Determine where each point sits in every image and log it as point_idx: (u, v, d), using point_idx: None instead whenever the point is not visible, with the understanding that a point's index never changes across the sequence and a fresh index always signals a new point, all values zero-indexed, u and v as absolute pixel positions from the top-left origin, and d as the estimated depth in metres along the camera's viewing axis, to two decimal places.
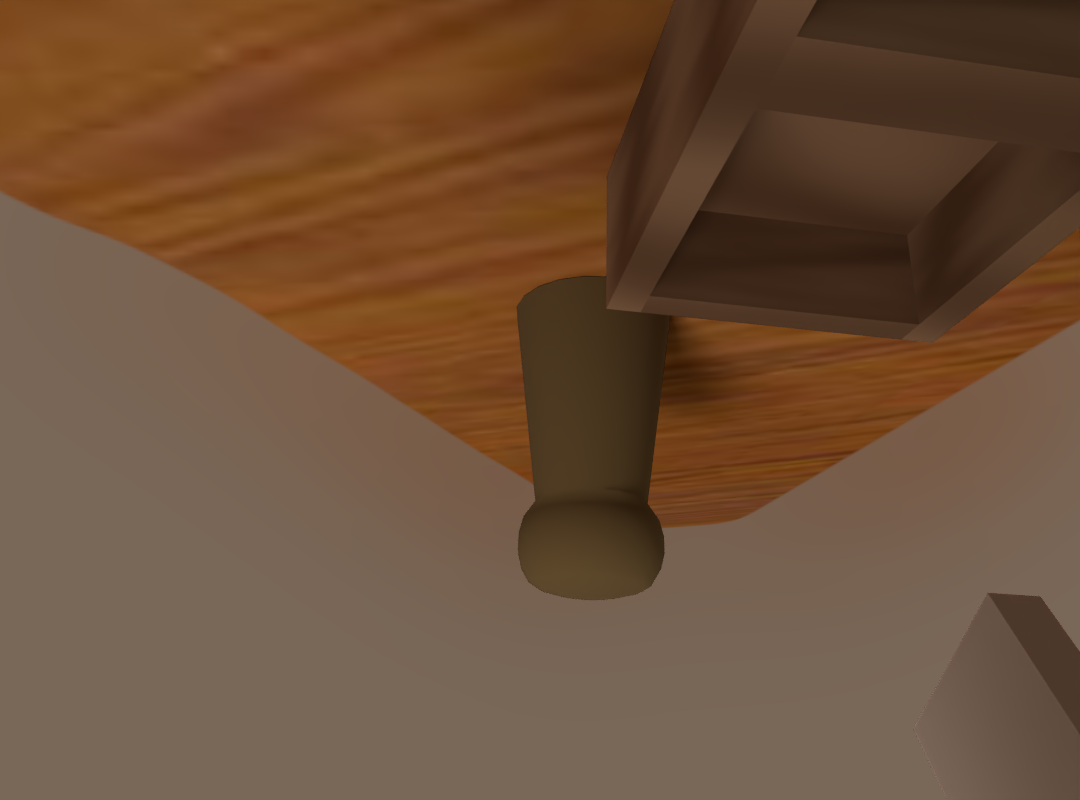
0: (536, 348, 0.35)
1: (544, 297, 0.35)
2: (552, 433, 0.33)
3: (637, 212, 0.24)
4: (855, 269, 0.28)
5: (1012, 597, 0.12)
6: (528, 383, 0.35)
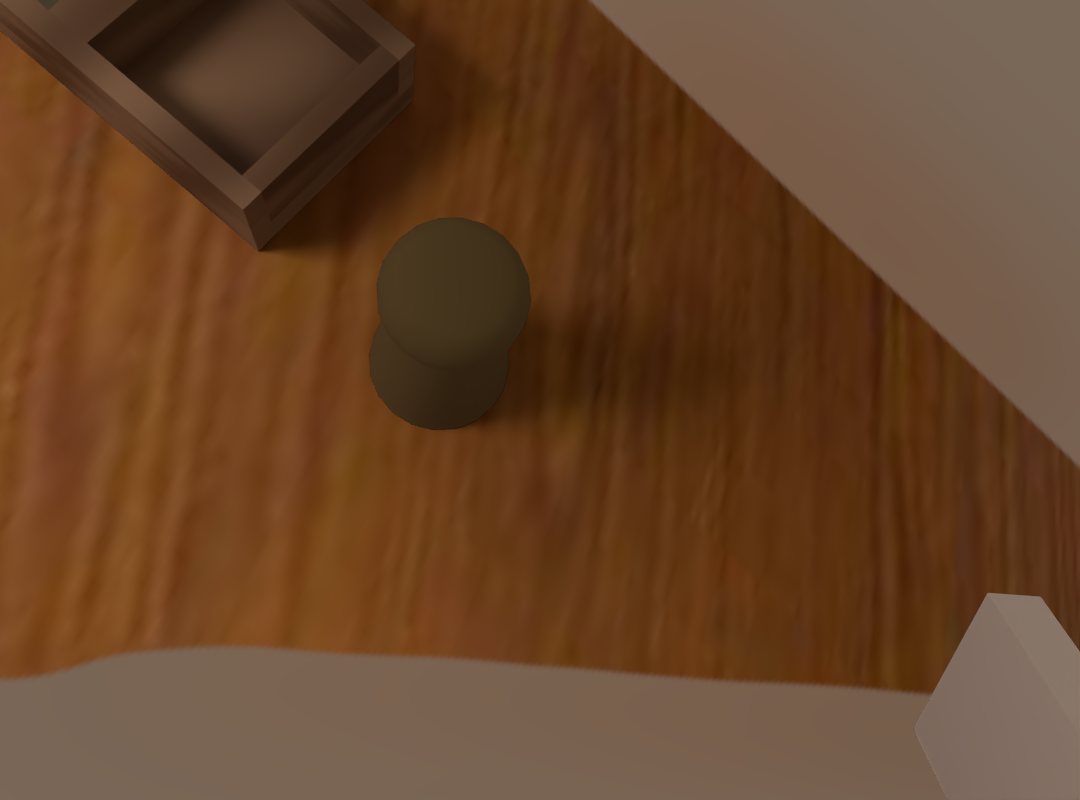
0: (380, 369, 0.38)
1: (371, 368, 0.40)
2: (387, 332, 0.35)
3: (178, 161, 0.37)
4: None
5: (1011, 597, 0.12)
6: (392, 379, 0.37)
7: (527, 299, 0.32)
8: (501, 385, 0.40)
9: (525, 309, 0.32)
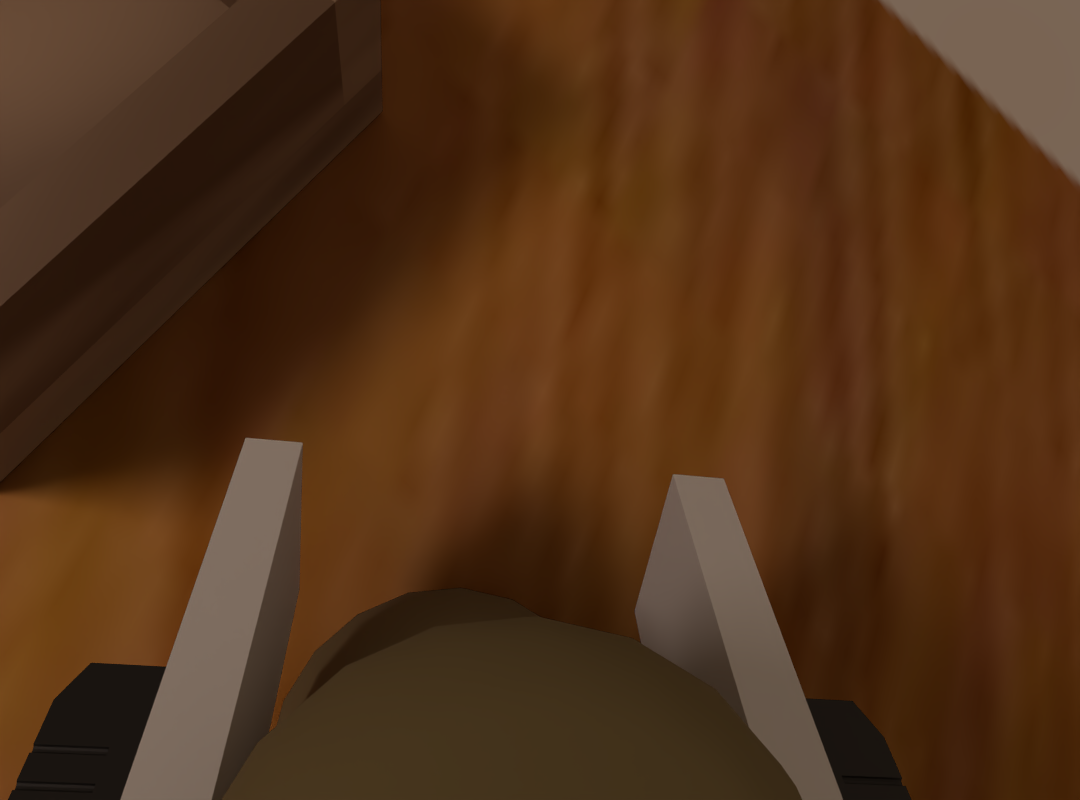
0: None
1: None
2: None
3: None
4: None
5: (695, 478, 0.13)
6: None
7: None
8: None
9: None
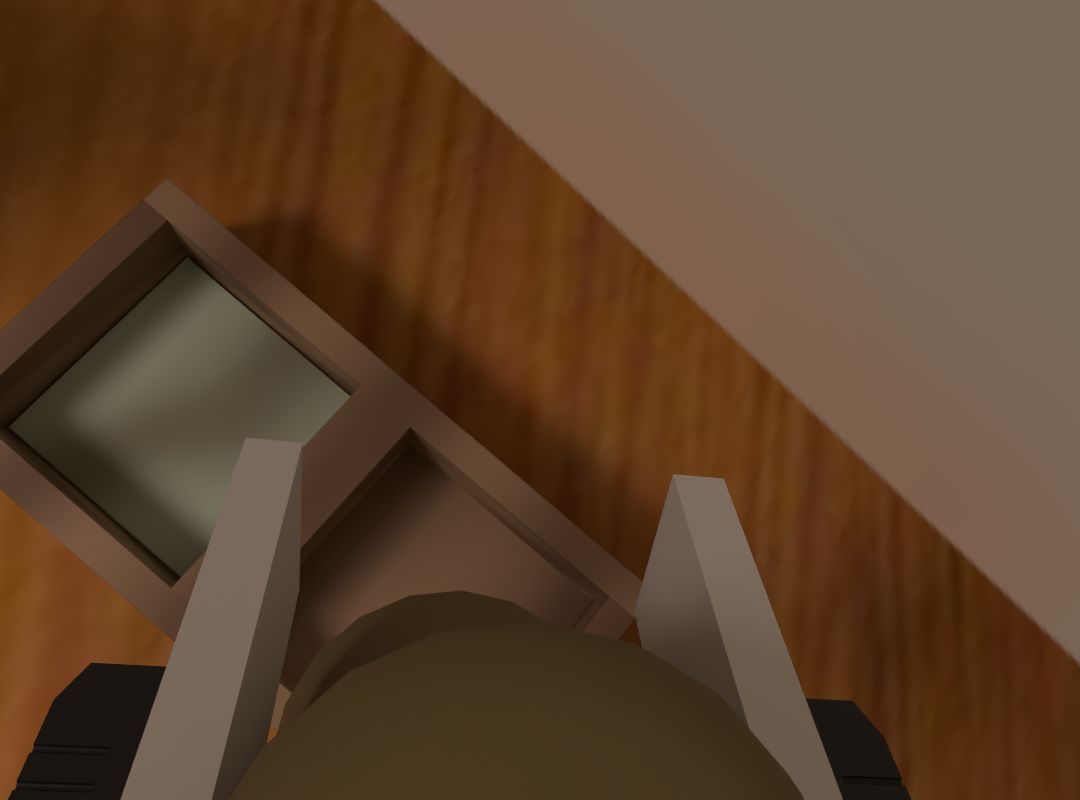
0: None
1: None
2: None
3: None
4: None
5: (695, 478, 0.13)
6: None
7: None
8: None
9: None
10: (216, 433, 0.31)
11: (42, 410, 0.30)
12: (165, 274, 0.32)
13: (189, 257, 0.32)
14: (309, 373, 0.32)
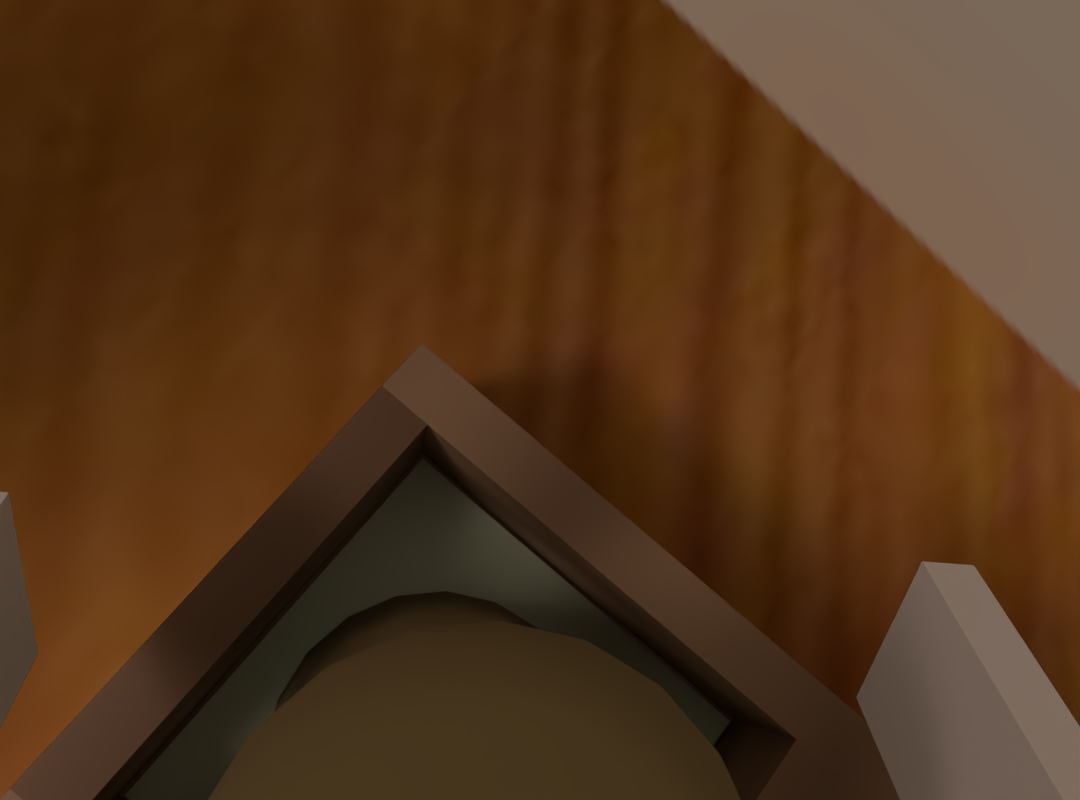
0: None
1: None
2: None
3: None
4: None
5: (946, 566, 0.13)
6: None
7: None
8: None
9: None
10: None
11: (184, 759, 0.17)
12: (387, 491, 0.18)
13: (424, 456, 0.19)
14: (640, 665, 0.18)
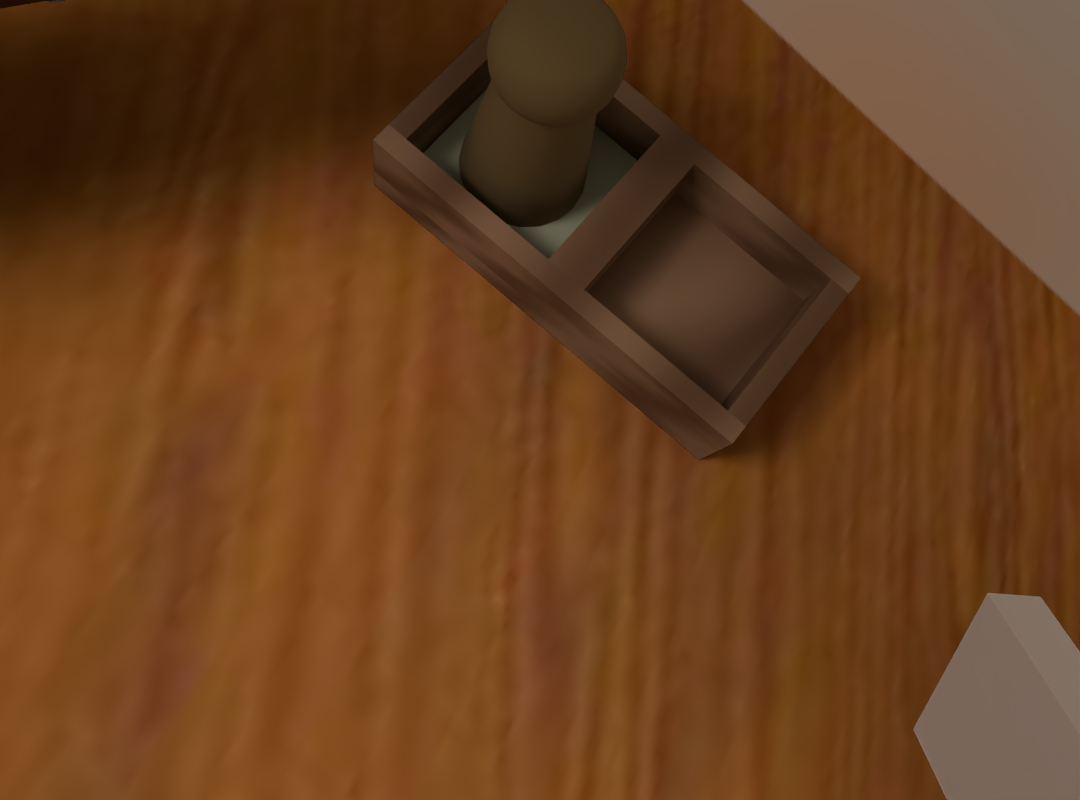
0: (473, 160, 0.41)
1: (462, 168, 0.43)
2: (487, 109, 0.38)
3: (662, 394, 0.41)
4: (794, 318, 0.43)
5: (1012, 598, 0.12)
6: (488, 163, 0.40)
7: (625, 55, 0.35)
8: (582, 183, 0.43)
9: (623, 64, 0.35)
10: None
11: (429, 158, 0.44)
12: None
13: None
14: (605, 140, 0.45)
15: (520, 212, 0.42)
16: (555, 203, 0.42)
